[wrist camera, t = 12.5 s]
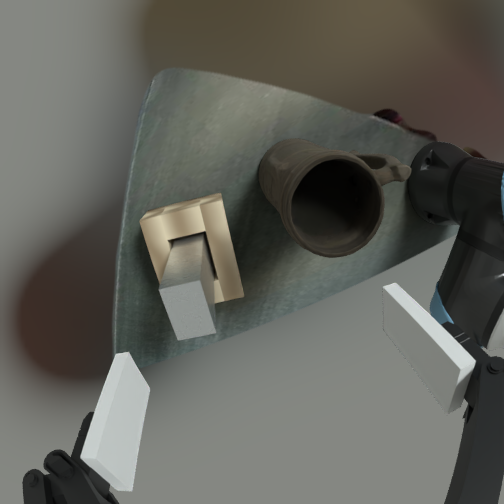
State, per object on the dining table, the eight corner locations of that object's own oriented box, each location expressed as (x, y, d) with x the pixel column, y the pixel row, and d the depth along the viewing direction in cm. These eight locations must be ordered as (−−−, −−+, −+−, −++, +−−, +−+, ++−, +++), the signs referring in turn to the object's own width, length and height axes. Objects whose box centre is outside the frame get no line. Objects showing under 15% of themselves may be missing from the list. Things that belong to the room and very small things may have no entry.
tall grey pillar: (203, 225, 45) (199, 280, 28) (213, 263, 47) (216, 332, 30) (177, 232, 44) (158, 289, 28) (188, 269, 47) (178, 340, 30)
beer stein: (279, 226, 47) (323, 285, 29) (239, 167, 43) (260, 190, 25) (359, 171, 45) (441, 197, 27) (325, 112, 42) (399, 101, 23)
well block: (220, 192, 44) (222, 200, 39) (240, 278, 49) (244, 296, 44) (148, 210, 44) (139, 221, 38) (174, 293, 49) (170, 312, 43)
